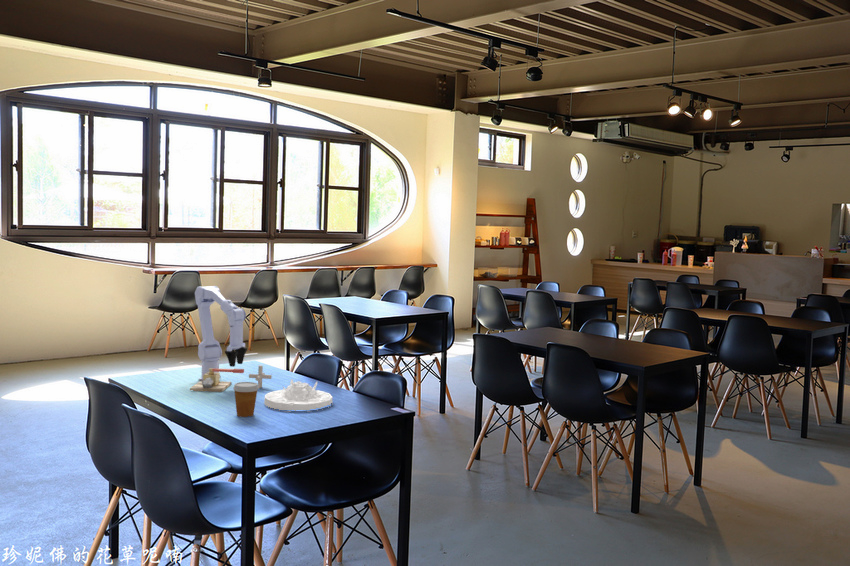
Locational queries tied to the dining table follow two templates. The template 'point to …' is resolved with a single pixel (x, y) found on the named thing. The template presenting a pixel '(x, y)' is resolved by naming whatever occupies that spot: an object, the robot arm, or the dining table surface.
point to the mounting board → (218, 388)
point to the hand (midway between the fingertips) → (236, 365)
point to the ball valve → (210, 379)
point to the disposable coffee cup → (245, 398)
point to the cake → (298, 397)
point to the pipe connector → (260, 376)
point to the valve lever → (227, 370)
